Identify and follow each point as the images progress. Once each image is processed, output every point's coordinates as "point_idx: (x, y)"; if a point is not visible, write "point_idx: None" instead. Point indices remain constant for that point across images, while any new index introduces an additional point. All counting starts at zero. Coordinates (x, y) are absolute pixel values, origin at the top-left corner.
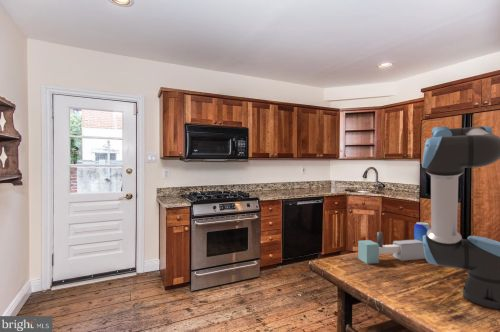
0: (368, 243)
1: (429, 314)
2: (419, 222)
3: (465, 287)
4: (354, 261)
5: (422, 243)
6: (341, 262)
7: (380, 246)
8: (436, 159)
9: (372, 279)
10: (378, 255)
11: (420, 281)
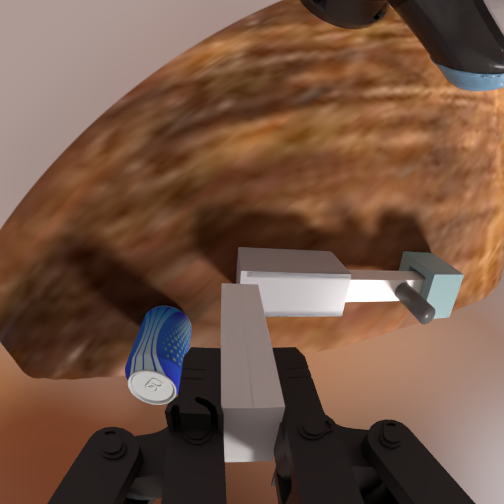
0: (450, 287)
1: None
2: (149, 401)
3: (386, 10)
4: None
5: (254, 270)
6: (464, 275)
7: (408, 284)
8: None
9: (478, 168)
10: (415, 259)
11: (405, 111)
